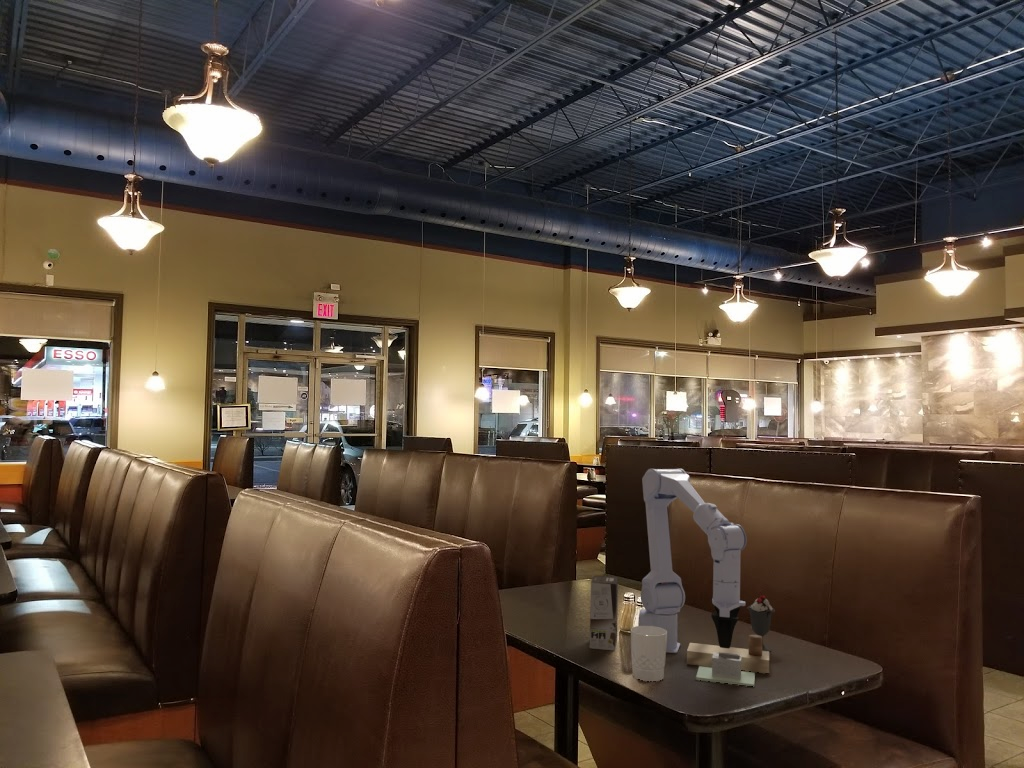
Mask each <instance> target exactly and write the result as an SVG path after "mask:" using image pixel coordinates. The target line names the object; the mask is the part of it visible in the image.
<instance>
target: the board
mask: <svg viewBox="0 0 1024 768" xmlns="http://www.w3.org/2000/svg"><path fill="white" fill-rule="evenodd" d="M755 676H756V672H749V671H741V680H736V679H728V678H720V677H712V667H708V666H700V665H698V668H697V673H696V675H695V680H696V681H700V680H701V681H702V682H708V681H710V682H709V683H716V682H720V683H719V684H724V683H728V684H727V685H732V684H738V685H737V686H739V685H746V686H745V687H747V686H753V687H752V688H755V683H756V682H755ZM701 681H700V682H701Z"/></svg>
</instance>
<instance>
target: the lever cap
mask: <svg viewBox="0 0 1024 768" xmlns="http://www.w3.org/2000/svg"><path fill="white" fill-rule="evenodd" d="M741 659H742V655H739V654H730V653H721V652H719V653H716V652H713V656H712V667H711V668H712V677H720V678H728V679H736V680H741Z"/></svg>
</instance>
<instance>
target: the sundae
mask: <svg viewBox="0 0 1024 768" xmlns="http://www.w3.org/2000/svg"><path fill="white" fill-rule="evenodd" d="M762 592H763V591H762V589H760V591H759V593H758V597H756V599H755V600H754V602H753V603H752V604H751V605H748V606H747V607H746V609H747V610H748V611H749V617H750V625H751V629H752V632H754V634H755V635H759V636H762V651H769V653H770V652H772V649H770V648H768V647H766V645H764V637H765V636H766V635H767V634H768V633H769V632H770V627H771V620H772V615H773V613H775V612H776V610H775V608H773V607H772V605H771V602H770V601H769V600H768V599H767V598H766V596H765V595H763V594H762Z"/></svg>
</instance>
